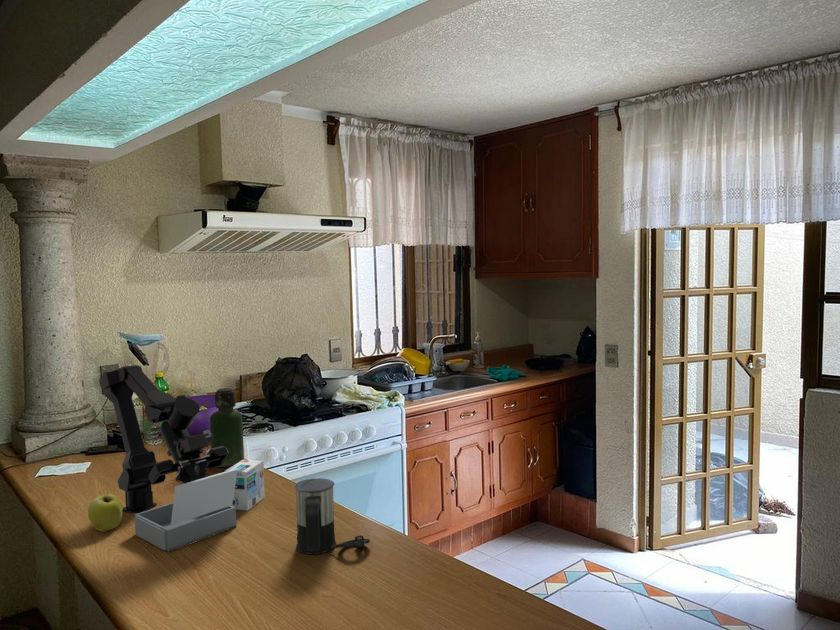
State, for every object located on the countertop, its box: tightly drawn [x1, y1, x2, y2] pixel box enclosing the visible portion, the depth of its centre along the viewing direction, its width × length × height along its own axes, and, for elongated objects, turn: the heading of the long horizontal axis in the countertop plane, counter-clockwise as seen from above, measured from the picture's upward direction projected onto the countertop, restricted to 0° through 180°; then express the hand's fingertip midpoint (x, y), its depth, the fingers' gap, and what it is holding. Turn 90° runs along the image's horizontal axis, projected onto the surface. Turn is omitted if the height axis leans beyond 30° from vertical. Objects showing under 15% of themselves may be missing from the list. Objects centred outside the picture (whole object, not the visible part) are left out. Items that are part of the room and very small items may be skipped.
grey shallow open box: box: [134, 502, 237, 553], centre depth 157 cm, size 16×19×5 cm
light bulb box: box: [224, 459, 266, 511], centre depth 175 cm, size 11×7×11 cm, turn 168°
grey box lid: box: [171, 469, 237, 525], centre depth 150 cm, size 1×16×10 cm, turn 140°
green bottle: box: [209, 387, 245, 468], centre depth 211 cm, size 10×10×25 cm
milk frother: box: [294, 478, 371, 555], centre depth 145 cm, size 14×16×15 cm
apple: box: [87, 491, 124, 533], centre depth 158 cm, size 8×8×10 cm
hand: (204, 493), depth 150 cm, fingers closed, pressing on grey box lid
